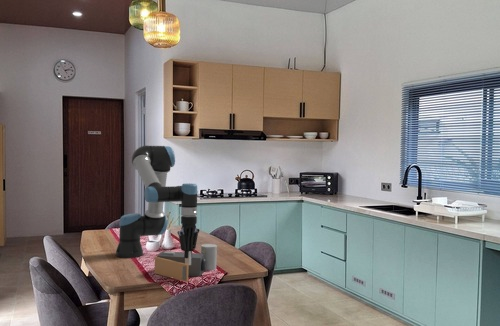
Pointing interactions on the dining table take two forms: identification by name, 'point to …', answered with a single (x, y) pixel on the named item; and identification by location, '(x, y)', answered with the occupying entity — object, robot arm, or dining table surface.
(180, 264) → the side door
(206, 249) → the cup
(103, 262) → the dining table surface
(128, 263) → the dining table surface
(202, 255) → the camera body
